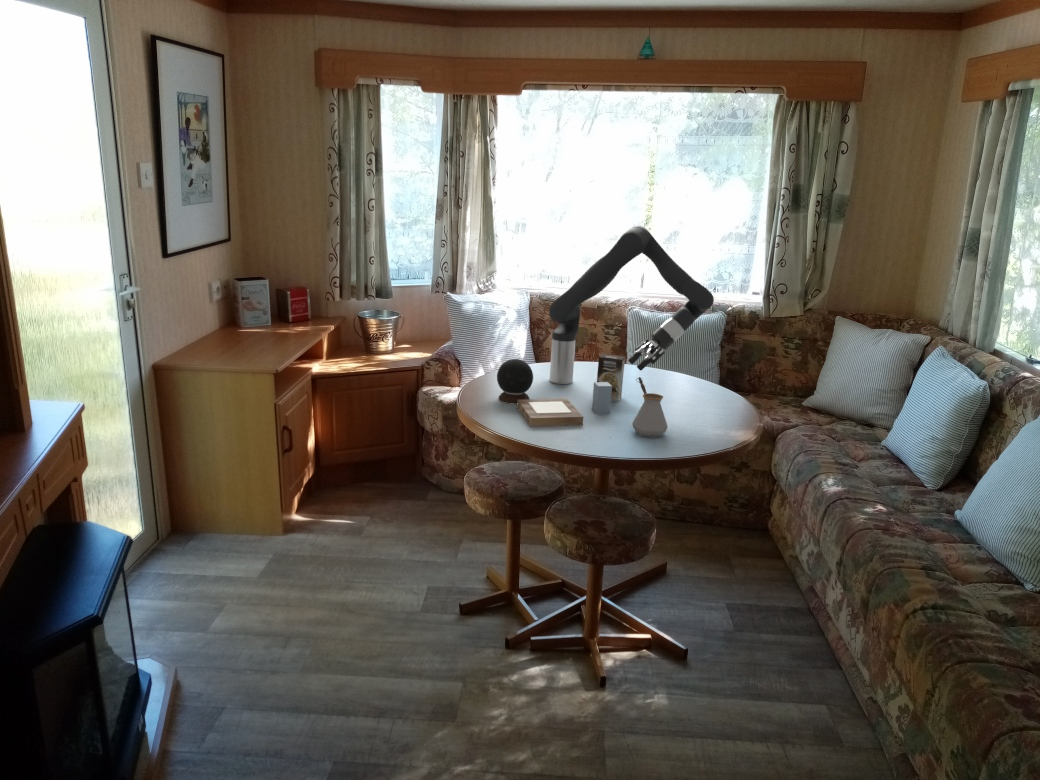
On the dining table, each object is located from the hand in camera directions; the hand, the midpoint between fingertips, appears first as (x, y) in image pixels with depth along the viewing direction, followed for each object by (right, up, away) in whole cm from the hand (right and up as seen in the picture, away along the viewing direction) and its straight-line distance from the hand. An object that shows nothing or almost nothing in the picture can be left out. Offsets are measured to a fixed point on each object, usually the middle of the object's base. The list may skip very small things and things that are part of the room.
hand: (634, 365), depth 272 cm
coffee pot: (+1, -22, -13) cm, 25 cm away
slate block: (-12, -16, +2) cm, 20 cm away
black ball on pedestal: (-42, -12, +11) cm, 45 cm away
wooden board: (-30, -18, -6) cm, 35 cm away
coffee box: (-7, -12, +18) cm, 23 cm away
